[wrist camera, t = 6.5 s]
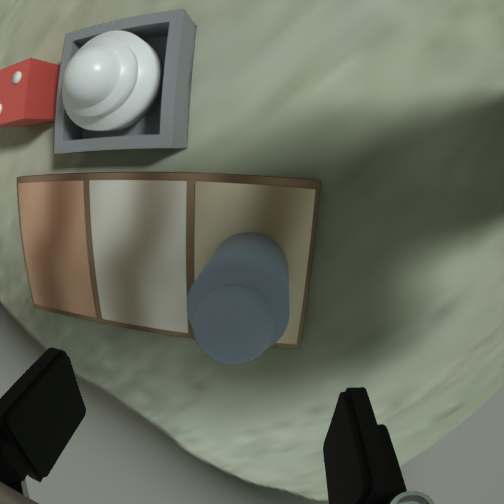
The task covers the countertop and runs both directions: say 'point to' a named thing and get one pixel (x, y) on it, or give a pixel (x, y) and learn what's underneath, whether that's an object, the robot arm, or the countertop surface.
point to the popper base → (169, 98)
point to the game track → (155, 241)
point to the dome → (111, 82)
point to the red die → (28, 93)
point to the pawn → (240, 299)
